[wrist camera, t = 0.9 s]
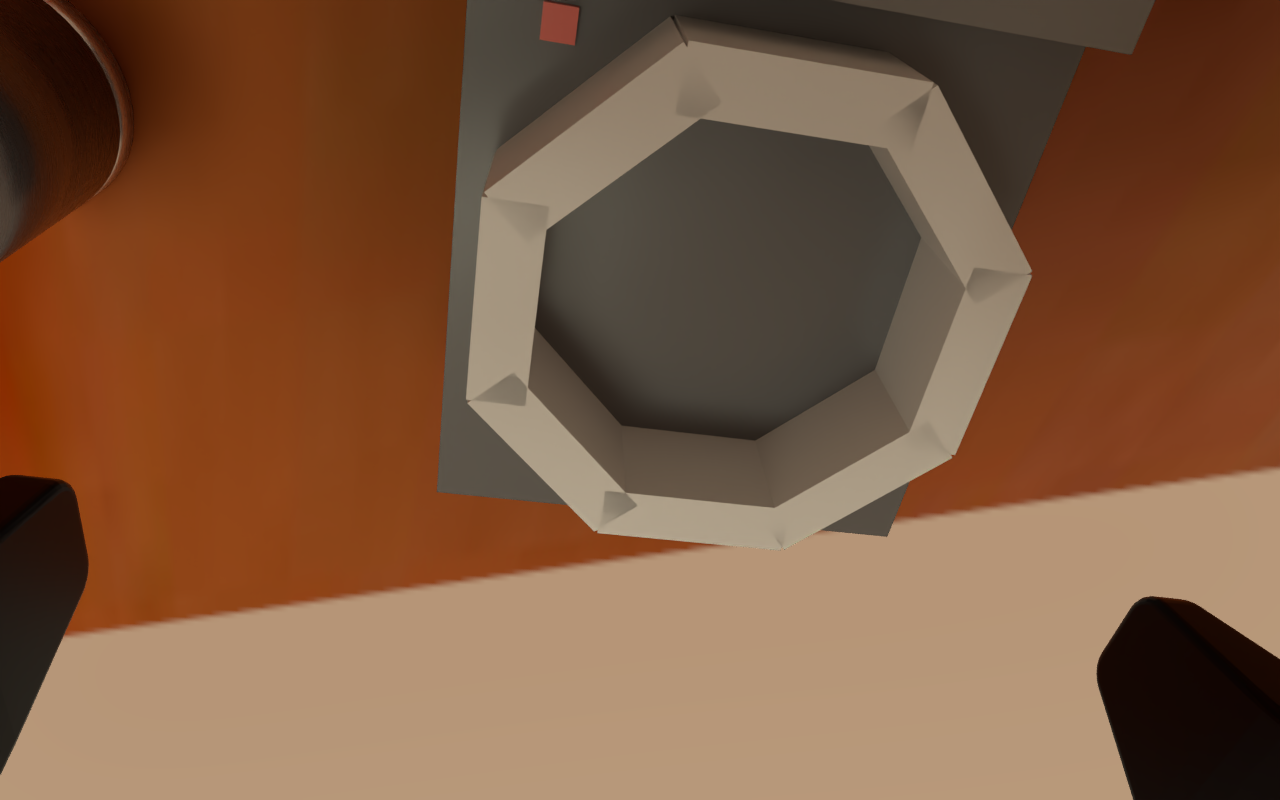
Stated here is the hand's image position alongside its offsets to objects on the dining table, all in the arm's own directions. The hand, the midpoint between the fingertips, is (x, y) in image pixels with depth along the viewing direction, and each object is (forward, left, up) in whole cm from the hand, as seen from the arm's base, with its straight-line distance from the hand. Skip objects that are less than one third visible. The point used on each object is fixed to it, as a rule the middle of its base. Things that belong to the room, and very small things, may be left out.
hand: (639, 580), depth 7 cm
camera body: (-2, 0, -12) cm, 13 cm away
